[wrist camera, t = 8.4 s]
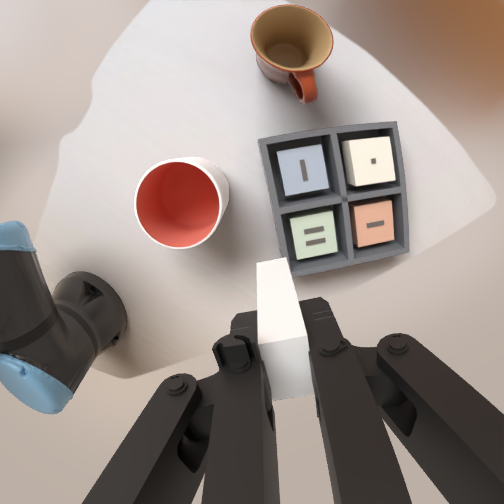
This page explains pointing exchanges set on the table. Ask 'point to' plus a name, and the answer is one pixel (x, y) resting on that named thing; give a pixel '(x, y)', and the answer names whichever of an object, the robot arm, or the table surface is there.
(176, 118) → the table surface
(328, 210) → the sage key
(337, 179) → the grey compartment tray
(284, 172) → the slate key
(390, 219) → the terracotta key
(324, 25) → the mug
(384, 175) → the cream key
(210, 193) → the cup
